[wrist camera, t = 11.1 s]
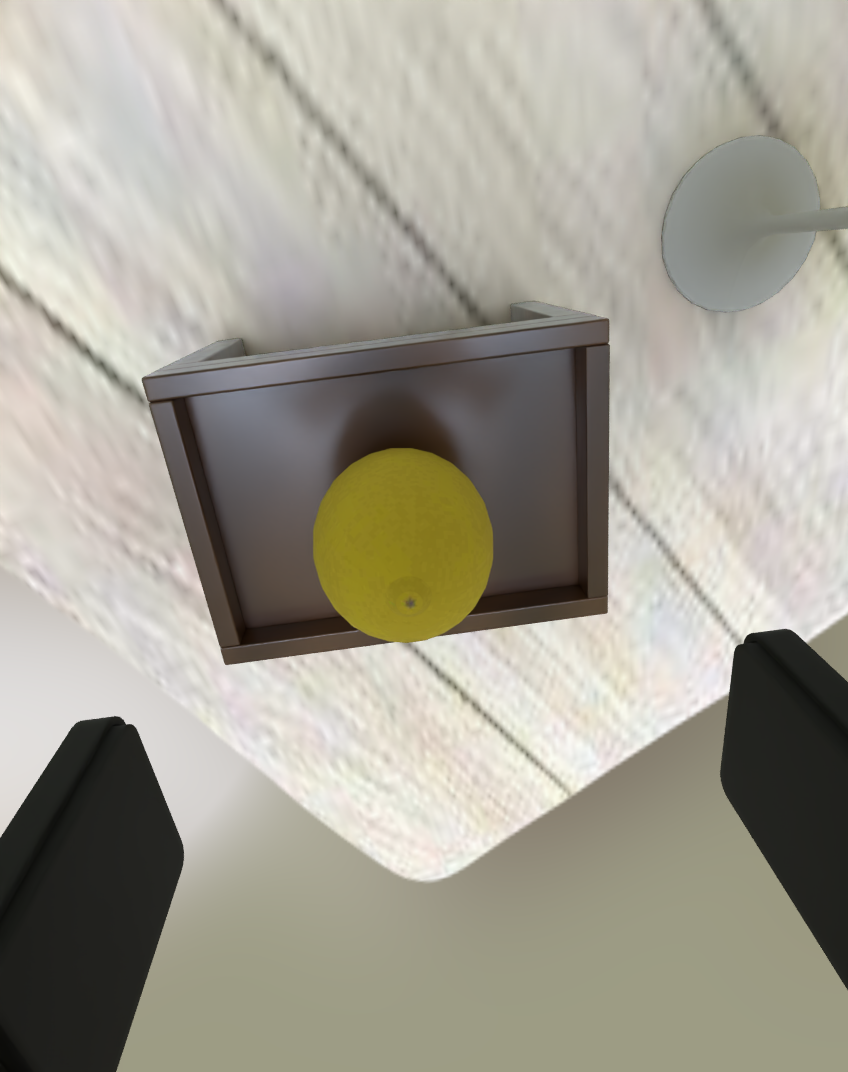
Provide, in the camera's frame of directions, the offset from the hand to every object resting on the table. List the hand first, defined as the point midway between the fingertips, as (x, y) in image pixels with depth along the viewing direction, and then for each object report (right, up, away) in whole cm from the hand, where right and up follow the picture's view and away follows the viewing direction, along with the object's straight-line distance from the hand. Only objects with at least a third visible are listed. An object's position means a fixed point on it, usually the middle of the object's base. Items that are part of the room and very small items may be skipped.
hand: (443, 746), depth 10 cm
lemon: (-1, +5, +13) cm, 14 cm away
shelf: (-2, +8, +21) cm, 23 cm away
